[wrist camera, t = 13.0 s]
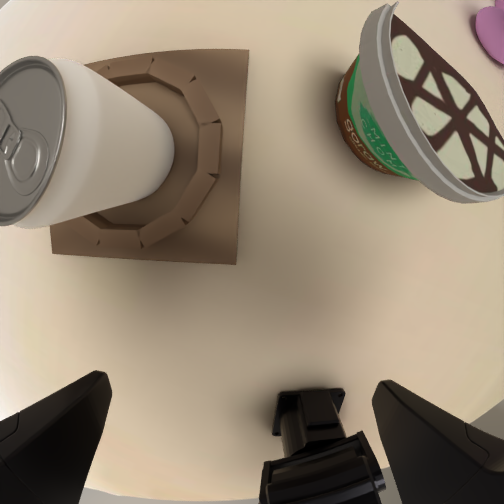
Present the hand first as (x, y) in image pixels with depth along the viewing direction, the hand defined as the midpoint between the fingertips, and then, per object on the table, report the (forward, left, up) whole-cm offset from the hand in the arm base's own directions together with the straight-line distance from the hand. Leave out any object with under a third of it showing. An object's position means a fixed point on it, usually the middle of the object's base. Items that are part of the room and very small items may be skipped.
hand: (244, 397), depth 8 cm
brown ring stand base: (+8, +8, -13) cm, 17 cm away
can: (+8, +8, -12) cm, 17 cm away
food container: (+10, -9, -13) cm, 19 cm away
